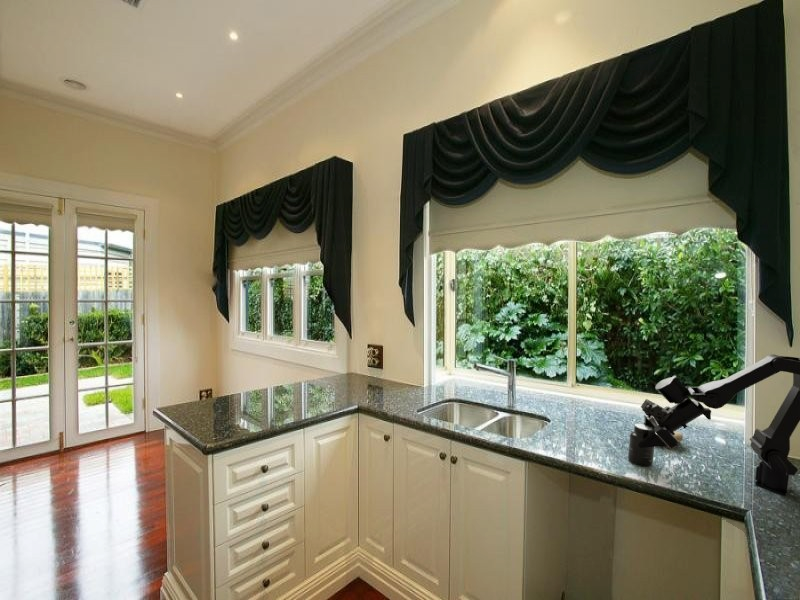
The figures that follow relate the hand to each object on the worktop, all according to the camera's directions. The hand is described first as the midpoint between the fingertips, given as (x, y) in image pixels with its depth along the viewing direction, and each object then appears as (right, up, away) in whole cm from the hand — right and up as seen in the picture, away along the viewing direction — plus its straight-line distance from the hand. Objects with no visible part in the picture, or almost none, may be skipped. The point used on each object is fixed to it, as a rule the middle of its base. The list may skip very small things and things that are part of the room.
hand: (636, 441), depth 123 cm
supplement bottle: (+1, -7, 0) cm, 7 cm away
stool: (+19, -5, +16) cm, 25 cm away
